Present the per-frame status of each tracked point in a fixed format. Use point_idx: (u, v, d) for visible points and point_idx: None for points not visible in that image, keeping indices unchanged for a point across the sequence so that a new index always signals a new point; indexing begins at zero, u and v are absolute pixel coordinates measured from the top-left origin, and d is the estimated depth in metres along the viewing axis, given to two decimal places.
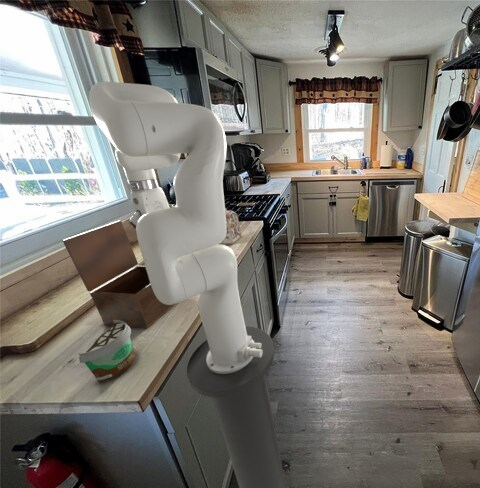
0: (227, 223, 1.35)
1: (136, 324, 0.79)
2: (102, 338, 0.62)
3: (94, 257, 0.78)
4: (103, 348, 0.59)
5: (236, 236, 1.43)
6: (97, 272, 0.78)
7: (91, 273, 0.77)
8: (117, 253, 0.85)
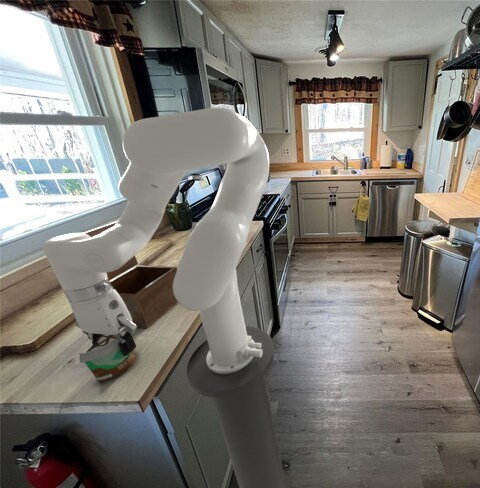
0: None
1: (136, 324, 0.79)
2: (102, 338, 0.62)
3: None
4: (103, 348, 0.59)
5: None
6: None
7: None
8: None
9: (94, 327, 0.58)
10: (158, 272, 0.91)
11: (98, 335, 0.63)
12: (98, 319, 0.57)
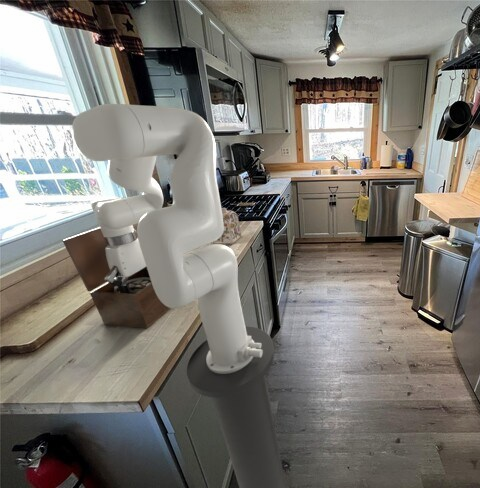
0: (227, 223, 1.35)
1: (136, 324, 0.79)
2: (136, 285, 0.82)
3: (94, 257, 0.78)
4: None
5: (236, 236, 1.43)
6: (97, 272, 0.78)
7: (91, 273, 0.77)
8: None
9: (137, 264, 0.81)
10: None
11: None
12: (141, 254, 0.82)
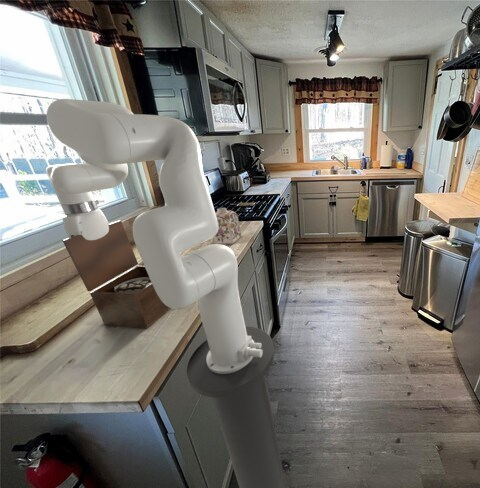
0: (227, 223, 1.35)
1: (136, 324, 0.79)
2: (136, 285, 0.82)
3: (94, 257, 0.78)
4: None
5: (236, 236, 1.43)
6: (97, 272, 0.78)
7: (91, 273, 0.77)
8: (117, 253, 0.85)
9: (99, 235, 0.79)
10: None
11: None
12: (103, 225, 0.80)
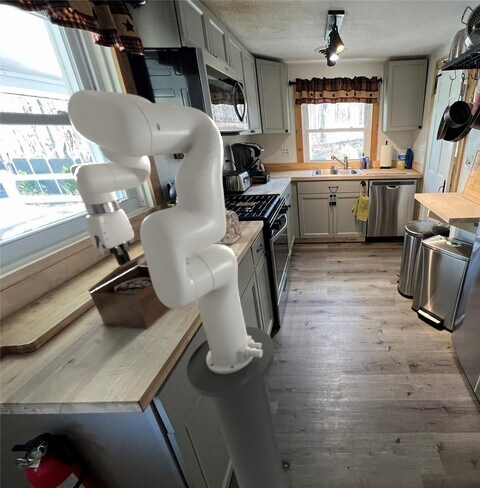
0: (227, 223, 1.35)
1: (136, 324, 0.79)
2: (136, 285, 0.82)
3: (121, 271, 0.78)
4: None
5: (236, 236, 1.43)
6: (110, 279, 0.79)
7: (106, 281, 0.77)
8: (136, 263, 0.85)
9: (121, 236, 0.78)
10: None
11: None
12: (125, 226, 0.79)
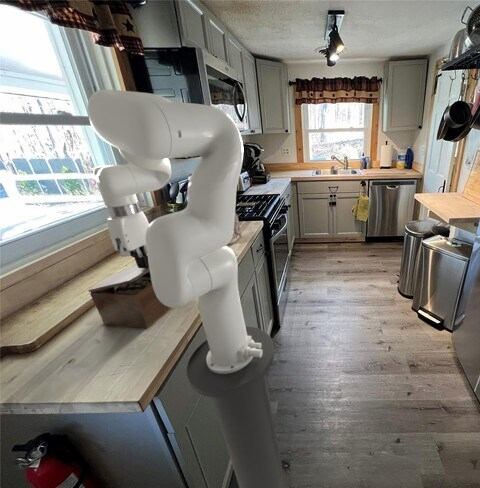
0: None
1: (136, 324, 0.79)
2: (136, 285, 0.82)
3: None
4: None
5: (236, 236, 1.43)
6: None
7: None
8: None
9: (141, 238, 0.77)
10: None
11: None
12: (145, 228, 0.78)
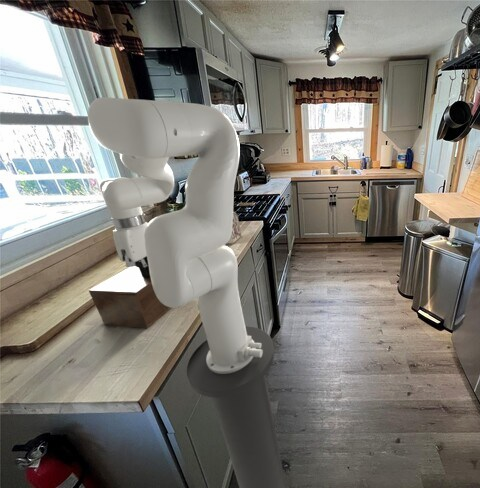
0: None
1: (136, 324, 0.79)
2: None
3: None
4: None
5: (236, 236, 1.43)
6: None
7: None
8: None
9: (146, 249, 0.78)
10: None
11: None
12: None
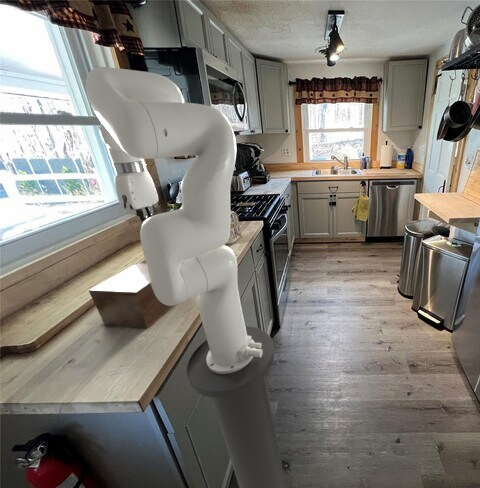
0: None
1: (136, 324, 0.79)
2: None
3: None
4: None
5: (236, 236, 1.43)
6: None
7: None
8: None
9: (147, 198, 0.78)
10: None
11: None
12: (150, 188, 0.79)
